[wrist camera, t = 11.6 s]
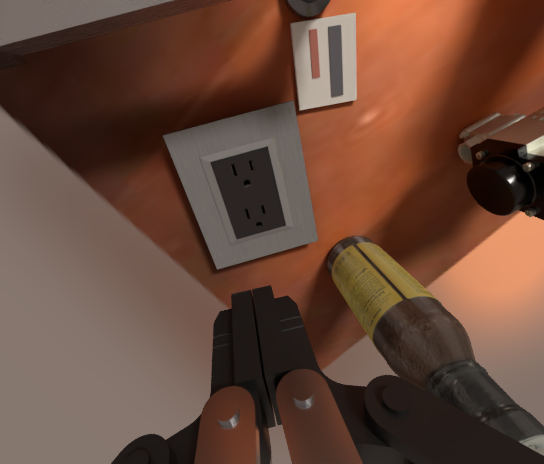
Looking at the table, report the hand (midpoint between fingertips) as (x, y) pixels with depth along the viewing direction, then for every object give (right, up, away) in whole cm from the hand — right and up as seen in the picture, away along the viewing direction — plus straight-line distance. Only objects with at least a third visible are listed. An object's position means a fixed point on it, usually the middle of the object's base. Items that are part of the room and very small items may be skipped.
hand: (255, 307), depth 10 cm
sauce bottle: (+10, 0, +21) cm, 23 cm away
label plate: (+5, +16, +12) cm, 21 cm away
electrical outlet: (-2, +7, +16) cm, 18 cm away
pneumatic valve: (+21, +13, +17) cm, 30 cm away
